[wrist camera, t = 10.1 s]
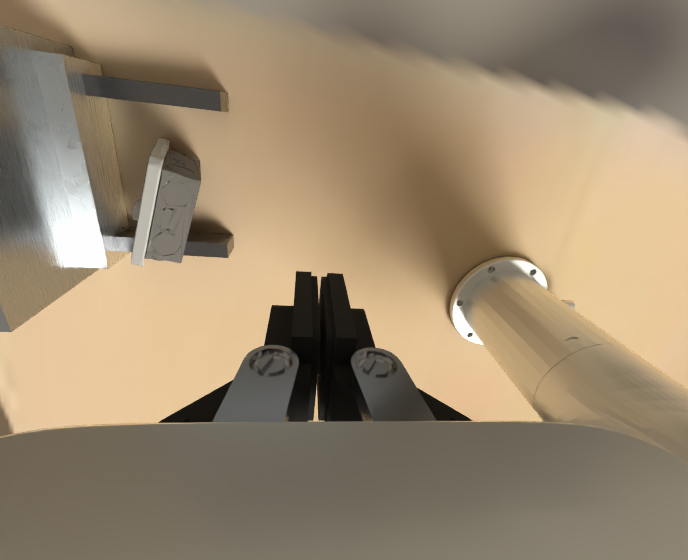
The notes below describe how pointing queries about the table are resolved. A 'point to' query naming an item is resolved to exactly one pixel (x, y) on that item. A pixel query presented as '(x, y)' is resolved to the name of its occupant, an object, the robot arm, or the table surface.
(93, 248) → the rail mount
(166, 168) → the electrical switch
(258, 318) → the table surface
